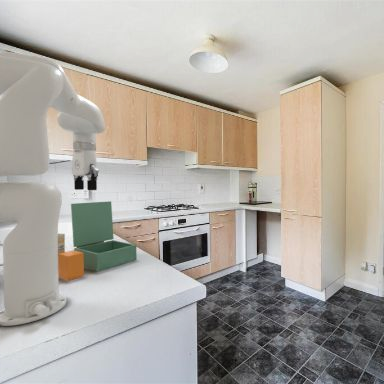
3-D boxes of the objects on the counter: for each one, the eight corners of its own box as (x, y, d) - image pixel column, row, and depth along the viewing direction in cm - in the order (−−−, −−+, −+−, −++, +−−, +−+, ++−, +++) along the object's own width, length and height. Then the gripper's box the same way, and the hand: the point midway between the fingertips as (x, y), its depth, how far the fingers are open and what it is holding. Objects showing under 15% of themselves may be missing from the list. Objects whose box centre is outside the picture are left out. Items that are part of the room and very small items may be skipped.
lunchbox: (136, 261, 93) (136, 244, 93) (97, 273, 80) (97, 254, 80) (113, 255, 100) (113, 240, 100) (74, 266, 87) (74, 248, 87)
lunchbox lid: (111, 201, 100) (105, 201, 102) (71, 203, 87) (66, 204, 89) (113, 239, 100) (107, 238, 102) (74, 247, 87) (68, 246, 89)
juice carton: (84, 278, 76) (83, 252, 76) (67, 283, 72) (67, 256, 72) (74, 274, 79) (74, 250, 79) (58, 279, 75) (58, 253, 75)
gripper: (63, 148, 95) (64, 189, 96) (86, 145, 87) (86, 190, 88) (83, 150, 102) (84, 189, 102) (106, 148, 94) (107, 190, 94)
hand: (85, 189), depth 95 cm, fingers open, 9 cm apart
